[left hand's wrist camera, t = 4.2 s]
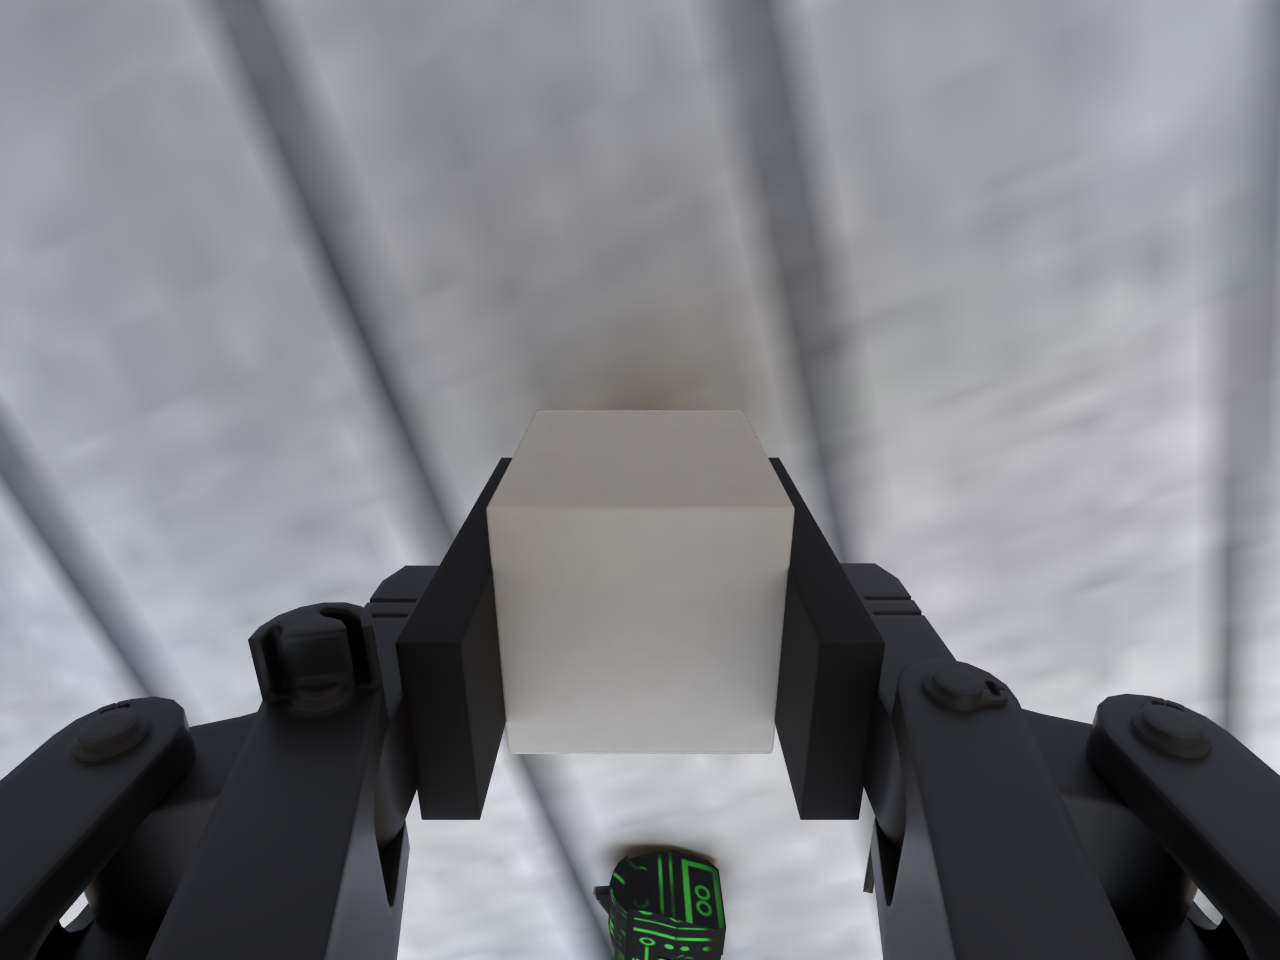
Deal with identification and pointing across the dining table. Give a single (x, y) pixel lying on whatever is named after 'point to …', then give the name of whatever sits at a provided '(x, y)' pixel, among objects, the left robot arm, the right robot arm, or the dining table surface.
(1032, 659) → the dining table surface
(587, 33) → the dining table surface
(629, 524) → the block
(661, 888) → the handgun
